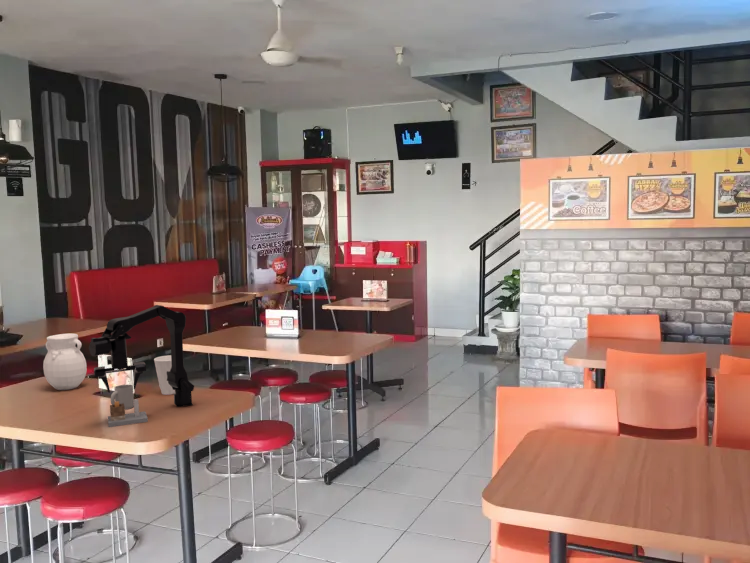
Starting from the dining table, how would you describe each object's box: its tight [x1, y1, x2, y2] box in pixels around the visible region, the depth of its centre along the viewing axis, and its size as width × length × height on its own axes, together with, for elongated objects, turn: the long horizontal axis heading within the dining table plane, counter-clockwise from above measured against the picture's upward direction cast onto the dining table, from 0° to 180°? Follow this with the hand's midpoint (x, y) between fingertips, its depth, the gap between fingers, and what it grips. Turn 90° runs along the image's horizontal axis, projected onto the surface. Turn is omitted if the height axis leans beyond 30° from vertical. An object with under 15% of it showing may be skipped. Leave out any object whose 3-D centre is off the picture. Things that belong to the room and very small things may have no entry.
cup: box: [110, 384, 135, 411], centre depth 272 cm, size 7×10×9 cm
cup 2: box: [153, 354, 175, 396], centre depth 295 cm, size 12×12×16 cm
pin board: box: [107, 398, 149, 428], centre depth 254 cm, size 14×10×8 cm
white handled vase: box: [42, 332, 88, 391], centre depth 309 cm, size 19×18×25 cm
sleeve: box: [109, 403, 126, 421], centre depth 253 cm, size 5×5×5 cm
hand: (121, 390), depth 255 cm, fingers open, 9 cm apart
